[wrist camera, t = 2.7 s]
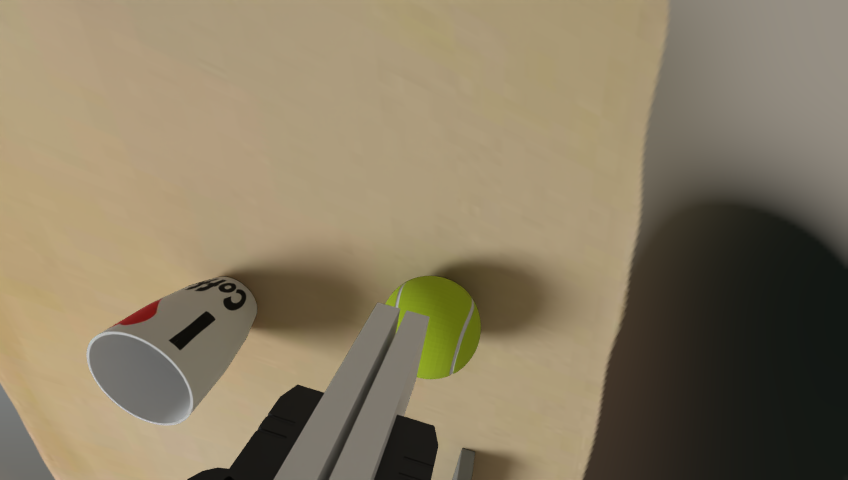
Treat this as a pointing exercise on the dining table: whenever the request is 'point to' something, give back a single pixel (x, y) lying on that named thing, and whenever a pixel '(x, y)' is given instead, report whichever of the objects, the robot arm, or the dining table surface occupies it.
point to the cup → (173, 349)
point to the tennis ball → (441, 323)
